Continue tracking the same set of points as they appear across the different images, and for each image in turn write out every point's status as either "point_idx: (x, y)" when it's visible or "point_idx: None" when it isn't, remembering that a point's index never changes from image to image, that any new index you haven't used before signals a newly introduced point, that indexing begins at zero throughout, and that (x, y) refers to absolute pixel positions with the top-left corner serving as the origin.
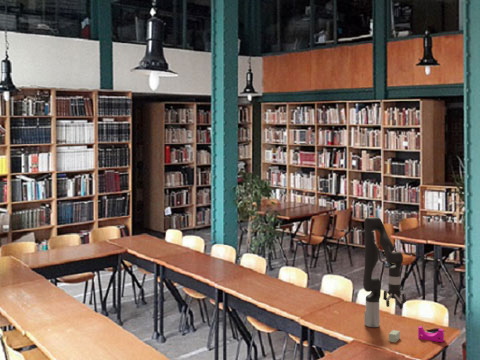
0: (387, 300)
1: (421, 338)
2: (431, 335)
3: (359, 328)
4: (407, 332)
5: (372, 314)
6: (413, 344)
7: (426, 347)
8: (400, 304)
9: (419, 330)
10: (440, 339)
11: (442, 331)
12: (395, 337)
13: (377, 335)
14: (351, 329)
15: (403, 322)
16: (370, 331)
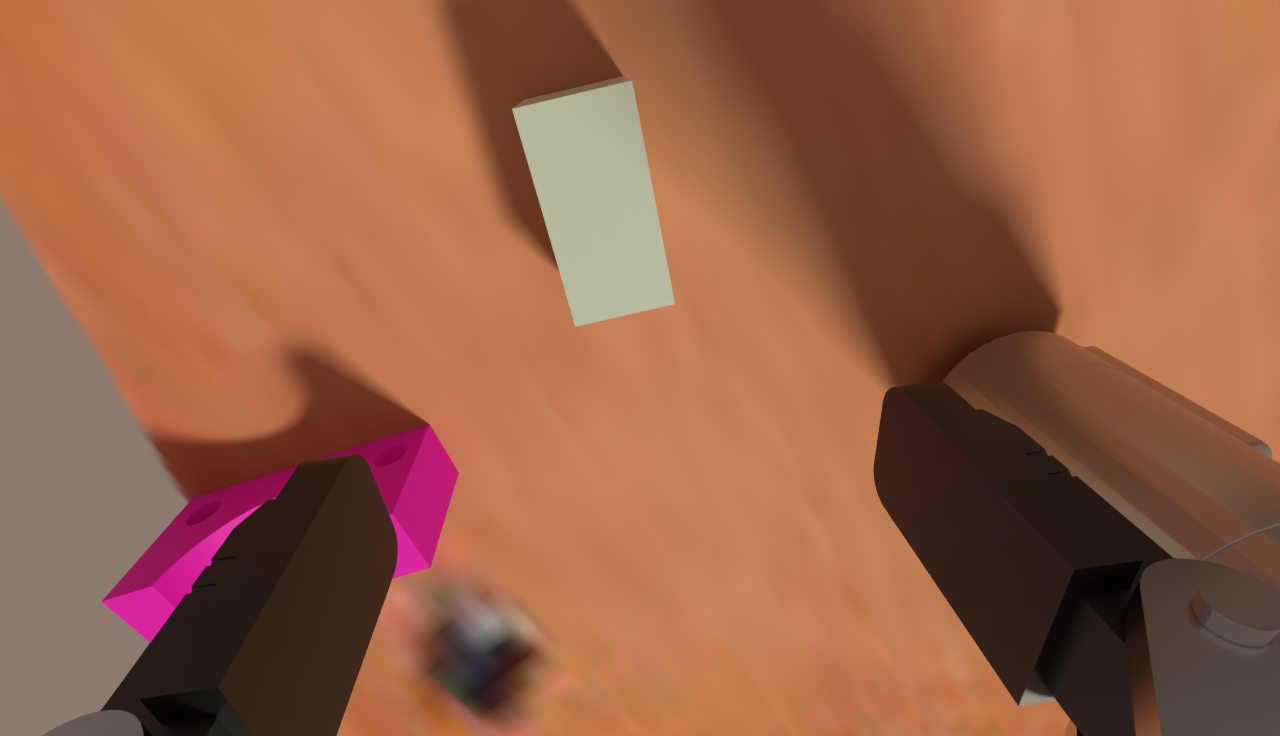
0: (1171, 619)
1: (395, 438)
2: None
3: (1122, 273)
4: (624, 503)
5: (1121, 437)
6: (312, 200)
7: (121, 212)
8: (179, 641)
9: (390, 491)
10: (203, 511)
11: (112, 592)
12: (520, 104)
13: (847, 191)
14: (1216, 166)
15: (784, 668)
16: (973, 268)
